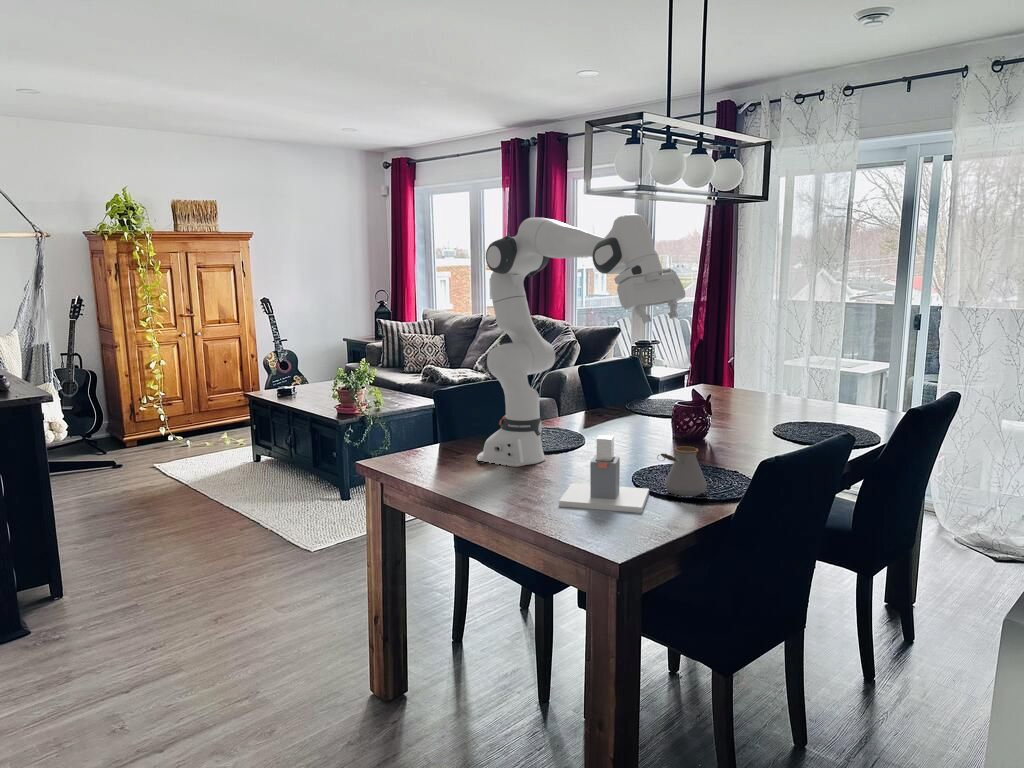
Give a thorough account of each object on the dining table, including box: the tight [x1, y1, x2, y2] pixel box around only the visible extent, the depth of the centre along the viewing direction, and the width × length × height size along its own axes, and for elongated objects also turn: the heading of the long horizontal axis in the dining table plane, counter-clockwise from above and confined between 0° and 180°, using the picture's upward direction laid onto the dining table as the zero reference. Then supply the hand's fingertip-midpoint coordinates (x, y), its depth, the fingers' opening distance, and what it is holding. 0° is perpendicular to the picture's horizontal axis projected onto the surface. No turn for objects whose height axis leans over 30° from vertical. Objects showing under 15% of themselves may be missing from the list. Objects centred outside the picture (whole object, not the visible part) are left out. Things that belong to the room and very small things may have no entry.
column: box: [596, 434, 615, 462], centre depth 199 cm, size 4×4×16 cm
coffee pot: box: [656, 445, 708, 496], centre depth 200 cm, size 21×12×15 cm, turn 142°
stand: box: [558, 454, 650, 514], centre depth 200 cm, size 22×16×12 cm
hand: (661, 320), depth 193 cm, fingers open, 8 cm apart
